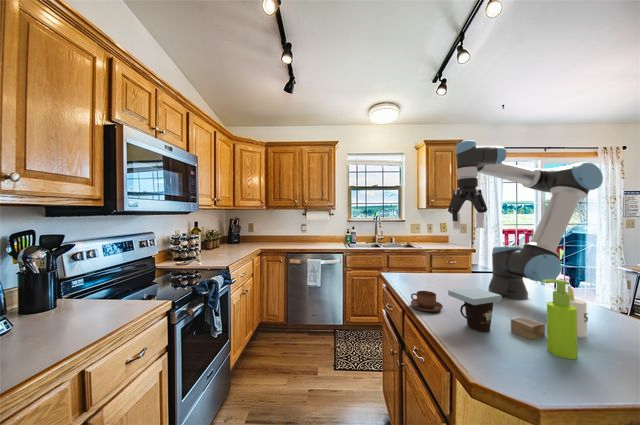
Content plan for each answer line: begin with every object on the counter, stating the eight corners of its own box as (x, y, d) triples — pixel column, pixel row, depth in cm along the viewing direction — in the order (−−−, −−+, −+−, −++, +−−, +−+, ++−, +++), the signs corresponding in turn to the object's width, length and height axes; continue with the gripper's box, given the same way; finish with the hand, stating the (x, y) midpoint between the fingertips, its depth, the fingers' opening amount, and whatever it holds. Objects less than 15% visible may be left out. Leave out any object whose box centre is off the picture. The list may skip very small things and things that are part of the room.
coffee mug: (484, 322, 87) (484, 294, 87) (500, 334, 78) (499, 303, 78) (450, 321, 88) (450, 293, 88) (461, 332, 79) (461, 301, 79)
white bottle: (581, 339, 75) (580, 290, 75) (554, 330, 81) (554, 284, 81) (592, 335, 77) (591, 288, 78) (565, 326, 83) (564, 282, 84)
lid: (473, 291, 90) (473, 286, 90) (501, 300, 80) (501, 295, 80) (448, 295, 86) (448, 290, 86) (473, 305, 77) (473, 299, 77)
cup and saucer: (411, 312, 97) (411, 296, 97) (410, 302, 108) (410, 288, 108) (445, 316, 93) (445, 299, 93) (440, 305, 104) (440, 290, 104)
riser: (523, 328, 82) (523, 316, 82) (544, 337, 76) (544, 324, 76) (511, 331, 80) (511, 319, 80) (531, 340, 75) (531, 327, 75)
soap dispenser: (538, 345, 72) (538, 276, 72) (569, 349, 69) (568, 278, 69) (549, 355, 66) (548, 281, 66) (582, 361, 64) (581, 284, 64)
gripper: (479, 180, 112) (480, 226, 111) (437, 179, 103) (439, 229, 103) (496, 177, 105) (497, 227, 104) (452, 176, 96) (454, 230, 96)
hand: (468, 228), depth 103 cm, fingers open, 13 cm apart
